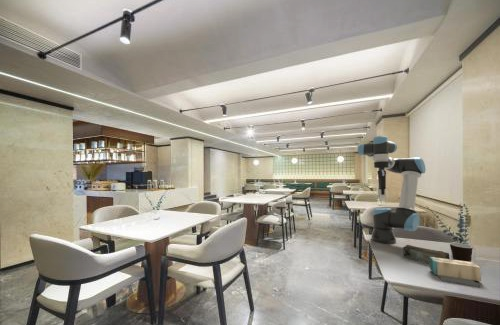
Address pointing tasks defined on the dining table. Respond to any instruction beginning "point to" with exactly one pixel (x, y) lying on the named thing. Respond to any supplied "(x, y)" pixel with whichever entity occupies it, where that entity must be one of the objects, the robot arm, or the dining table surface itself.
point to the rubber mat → (458, 280)
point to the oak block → (455, 268)
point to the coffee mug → (461, 252)
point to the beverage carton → (423, 253)
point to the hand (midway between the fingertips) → (382, 200)
